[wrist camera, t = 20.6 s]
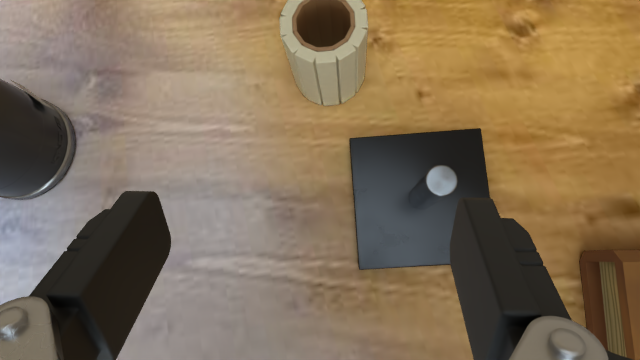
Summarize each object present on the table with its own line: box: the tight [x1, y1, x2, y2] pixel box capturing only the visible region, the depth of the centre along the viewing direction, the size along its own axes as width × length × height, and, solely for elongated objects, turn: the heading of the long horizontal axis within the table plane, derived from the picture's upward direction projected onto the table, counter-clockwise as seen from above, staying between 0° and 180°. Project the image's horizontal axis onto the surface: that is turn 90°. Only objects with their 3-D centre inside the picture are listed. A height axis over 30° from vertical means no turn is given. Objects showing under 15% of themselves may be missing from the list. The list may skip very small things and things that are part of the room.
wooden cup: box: [280, 0, 368, 106], centre depth 34 cm, size 6×6×8 cm
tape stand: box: [350, 128, 490, 270], centre depth 31 cm, size 11×11×9 cm
